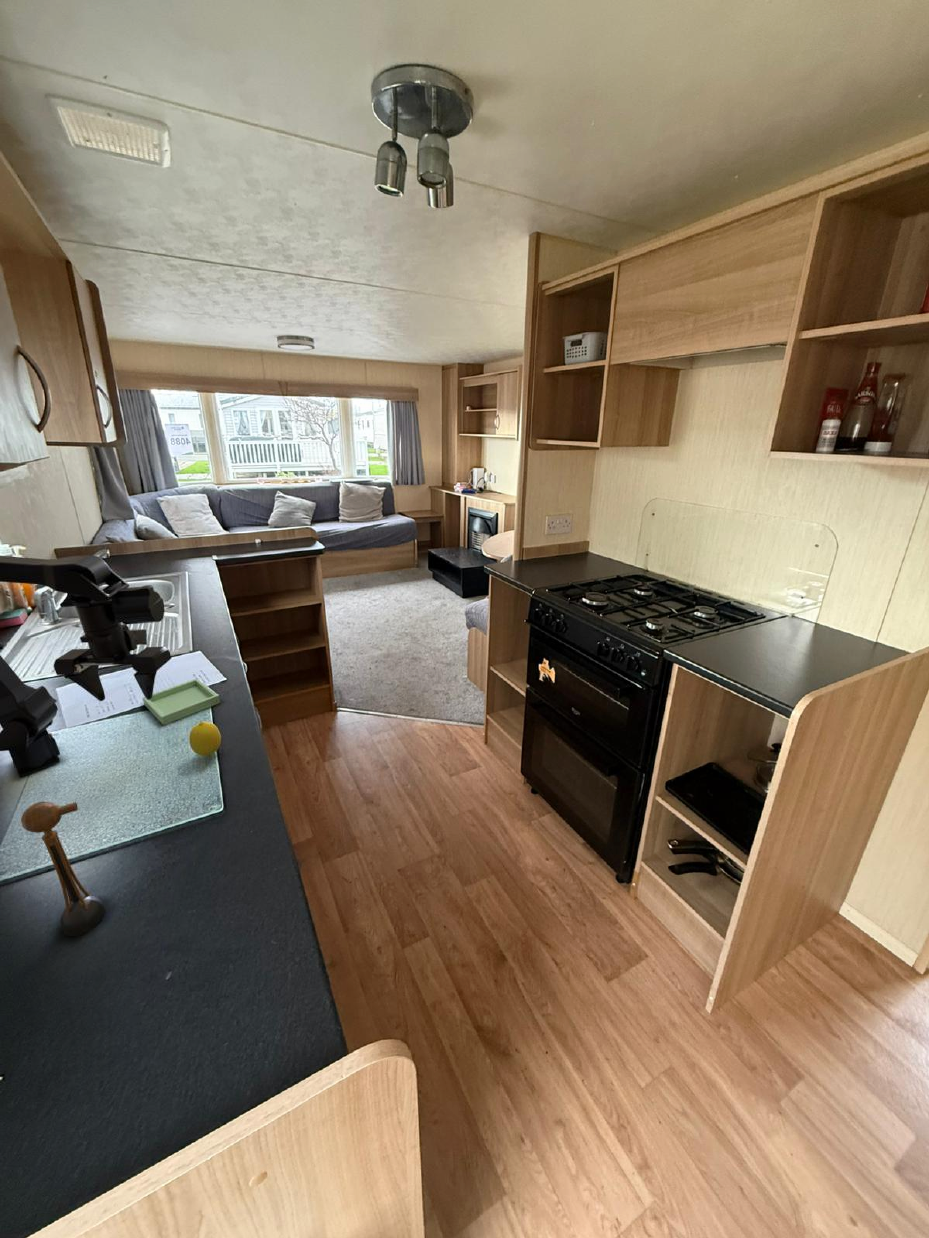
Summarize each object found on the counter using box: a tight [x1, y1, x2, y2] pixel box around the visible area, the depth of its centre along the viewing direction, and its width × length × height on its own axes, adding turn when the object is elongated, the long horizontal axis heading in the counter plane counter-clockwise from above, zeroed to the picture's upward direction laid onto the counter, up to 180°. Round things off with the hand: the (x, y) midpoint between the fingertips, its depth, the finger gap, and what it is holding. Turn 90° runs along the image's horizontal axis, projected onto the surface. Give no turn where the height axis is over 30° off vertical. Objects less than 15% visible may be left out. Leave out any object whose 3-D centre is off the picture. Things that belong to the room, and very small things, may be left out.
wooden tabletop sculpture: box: [20, 801, 107, 937], centre depth 65 cm, size 6×5×20 cm
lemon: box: [188, 721, 222, 757], centre depth 100 cm, size 6×6×8 cm
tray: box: [142, 678, 221, 726], centre depth 120 cm, size 13×13×2 cm
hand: (126, 699), depth 98 cm, fingers open, 9 cm apart
